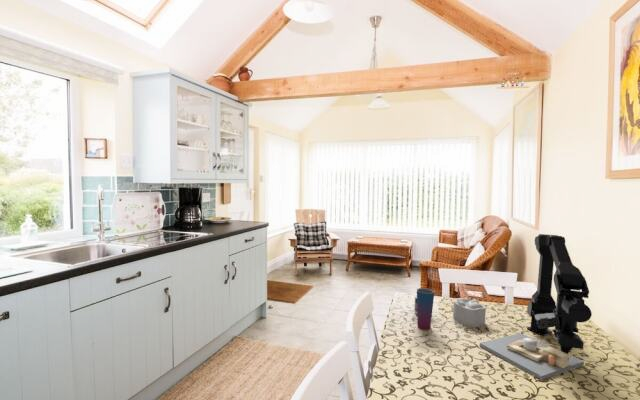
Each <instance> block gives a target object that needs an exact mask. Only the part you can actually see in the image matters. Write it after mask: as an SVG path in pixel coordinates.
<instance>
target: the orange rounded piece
mask: <svg viewBox="0 0 640 400" xmlns="http://www.w3.org/2000/svg"><path fill="white" fill-rule="evenodd" d="M554 363H555V356H553V355H549V360H548V365H549V366H552V367H554Z"/></svg>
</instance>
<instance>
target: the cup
mask: <svg viewBox="0 0 640 400" xmlns="http://www.w3.org/2000/svg"><path fill="white" fill-rule="evenodd" d="M416 295H417V314H416V316H417V322H416V323H417V328H418V329H422V330H424V331H425V330H426V331H428V330H431V326H432V319H433V318H432V316H433V315H432V314H433V306H434V298H435V291H434V290H433V289H430V288H427V287H426V288H425V287H421V288H417V289H416Z"/></svg>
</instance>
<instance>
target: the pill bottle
mask: <svg viewBox="0 0 640 400" xmlns="http://www.w3.org/2000/svg"><path fill="white" fill-rule="evenodd" d="M413 311H414V313H415V314H416V315H417V294H416V295H415V297H414V310H413Z"/></svg>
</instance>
